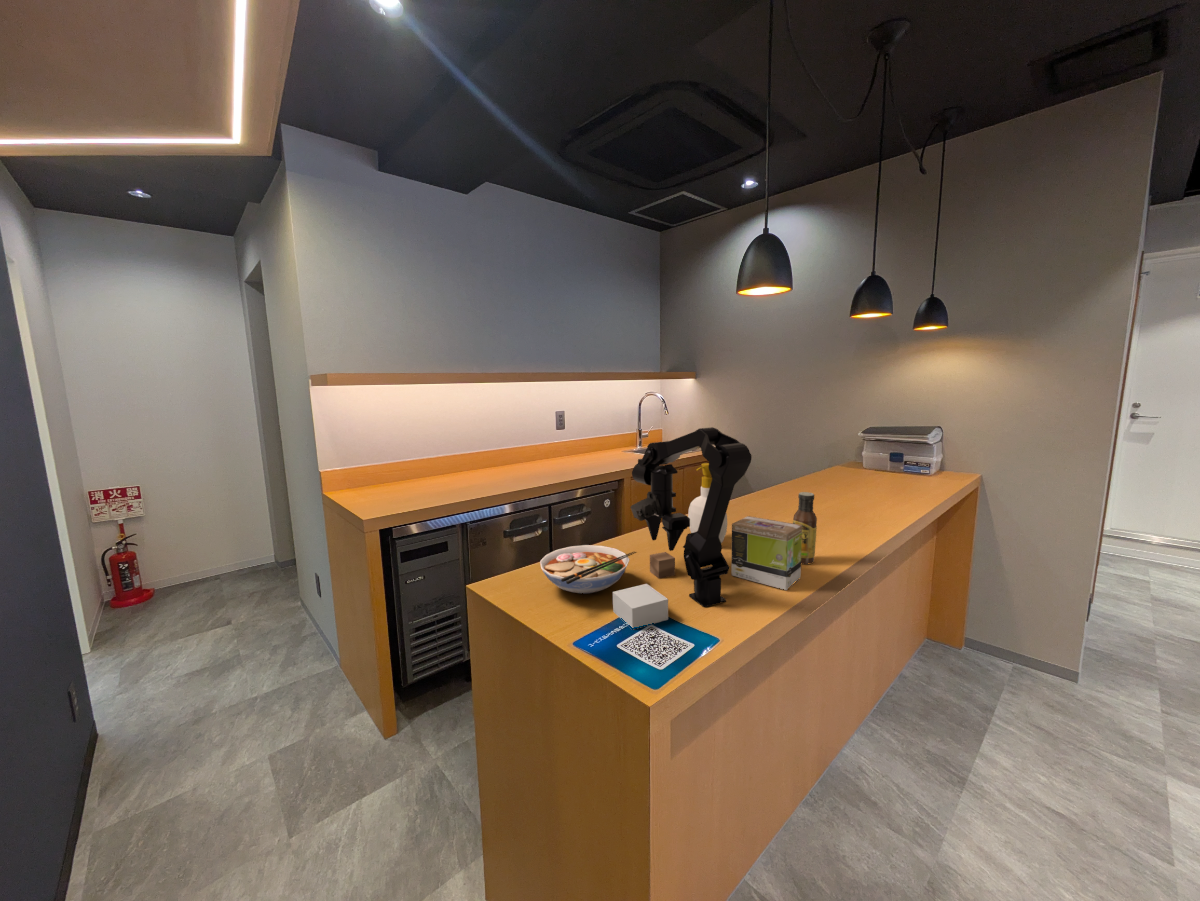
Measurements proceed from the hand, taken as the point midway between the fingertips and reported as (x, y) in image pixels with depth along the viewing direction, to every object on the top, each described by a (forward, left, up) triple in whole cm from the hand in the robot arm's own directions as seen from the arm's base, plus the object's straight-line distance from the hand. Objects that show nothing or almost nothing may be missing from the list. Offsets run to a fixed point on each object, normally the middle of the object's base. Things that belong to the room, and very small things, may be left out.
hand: (662, 545), depth 126 cm
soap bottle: (+14, -24, -8) cm, 29 cm away
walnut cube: (0, 0, -8) cm, 8 cm away
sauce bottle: (-10, -40, -8) cm, 42 cm away
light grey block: (-18, +16, -8) cm, 25 cm away
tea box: (-14, -23, -8) cm, 28 cm away
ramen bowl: (+1, +22, -8) cm, 24 cm away
